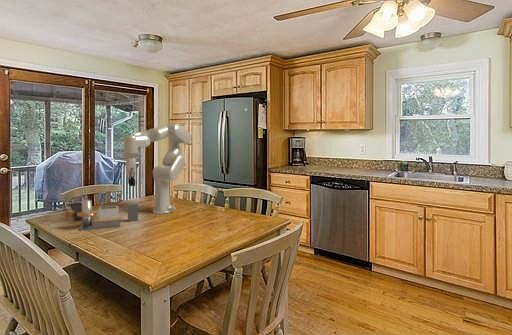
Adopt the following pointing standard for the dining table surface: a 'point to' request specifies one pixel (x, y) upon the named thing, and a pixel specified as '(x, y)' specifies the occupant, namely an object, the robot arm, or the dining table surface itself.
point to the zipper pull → (76, 210)
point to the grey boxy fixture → (103, 213)
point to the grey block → (132, 212)
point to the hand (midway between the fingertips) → (131, 184)
